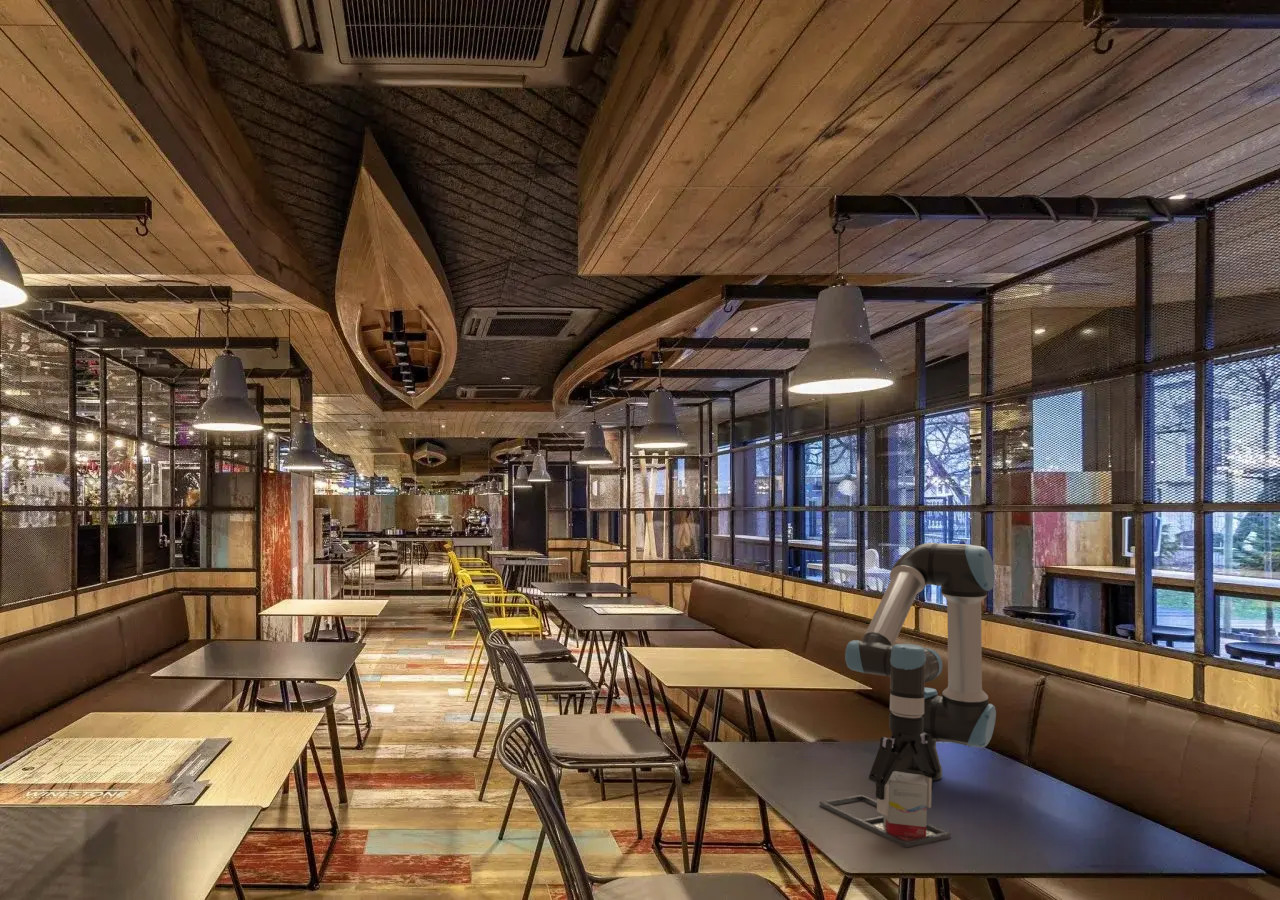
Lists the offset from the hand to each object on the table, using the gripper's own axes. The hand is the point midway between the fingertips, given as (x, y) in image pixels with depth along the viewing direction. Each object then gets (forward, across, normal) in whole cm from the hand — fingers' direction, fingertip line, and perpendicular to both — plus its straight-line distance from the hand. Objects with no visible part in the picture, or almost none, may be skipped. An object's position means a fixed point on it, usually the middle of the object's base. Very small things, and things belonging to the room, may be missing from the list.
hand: (904, 809), depth 186 cm
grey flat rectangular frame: (+5, 0, -6) cm, 8 cm away
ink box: (+5, 0, 0) cm, 5 cm away
